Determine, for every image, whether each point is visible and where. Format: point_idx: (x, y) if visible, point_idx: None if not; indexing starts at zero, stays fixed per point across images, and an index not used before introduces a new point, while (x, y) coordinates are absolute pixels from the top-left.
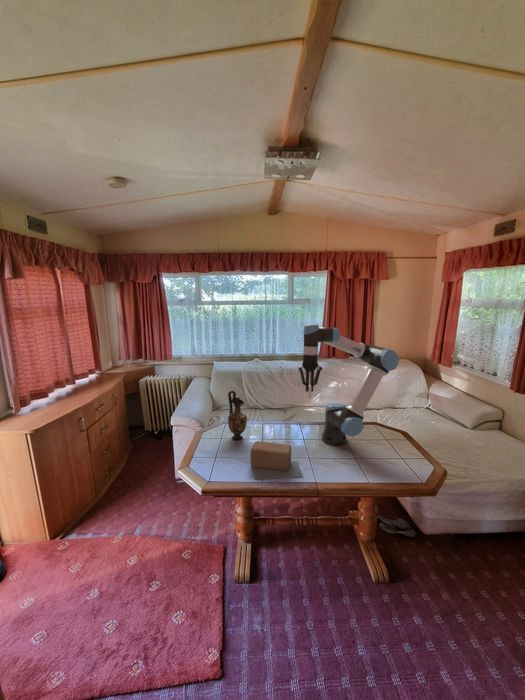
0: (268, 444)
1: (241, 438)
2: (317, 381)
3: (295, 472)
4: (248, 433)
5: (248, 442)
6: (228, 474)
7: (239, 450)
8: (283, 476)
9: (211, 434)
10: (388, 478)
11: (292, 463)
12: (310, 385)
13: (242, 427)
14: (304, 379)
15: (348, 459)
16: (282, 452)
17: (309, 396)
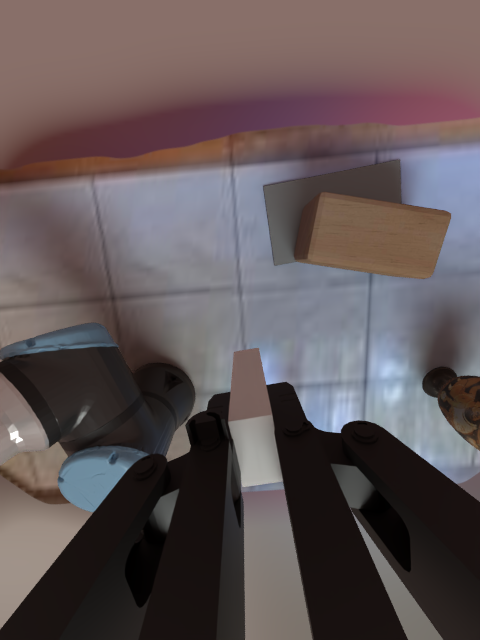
0: (387, 251)
1: (429, 378)
2: (92, 514)
3: (283, 205)
4: (405, 412)
5: (407, 360)
6: (470, 181)
7: (435, 313)
8: (318, 181)
9: None
10: (38, 202)
11: (288, 252)
12: (240, 457)
13: (462, 387)
14: (436, 530)
15: (132, 290)
16: (341, 197)
17: (249, 355)
